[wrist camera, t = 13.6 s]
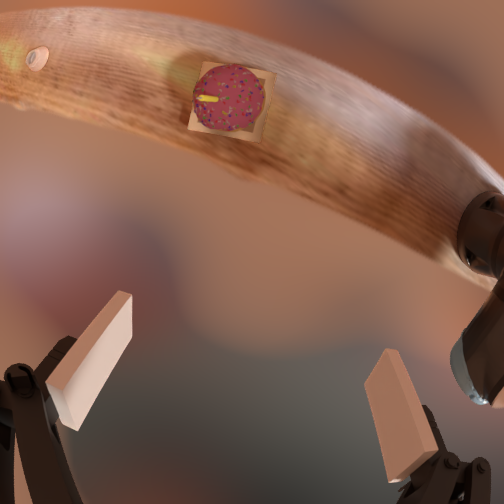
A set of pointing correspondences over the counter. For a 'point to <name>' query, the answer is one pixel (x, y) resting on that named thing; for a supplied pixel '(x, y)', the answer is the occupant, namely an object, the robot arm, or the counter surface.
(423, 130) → the counter surface
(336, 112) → the counter surface
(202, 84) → the cupcake
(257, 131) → the square tray
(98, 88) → the counter surface
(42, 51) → the lidless jar
